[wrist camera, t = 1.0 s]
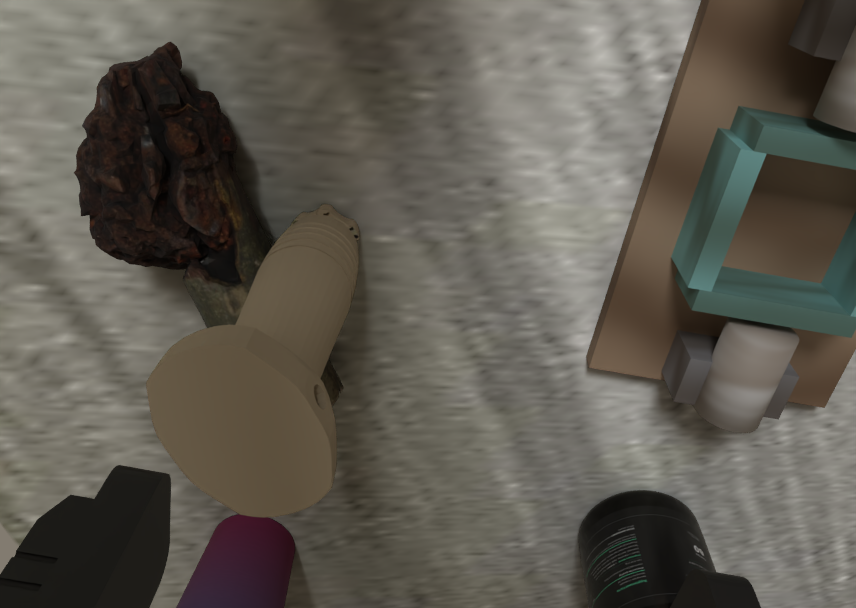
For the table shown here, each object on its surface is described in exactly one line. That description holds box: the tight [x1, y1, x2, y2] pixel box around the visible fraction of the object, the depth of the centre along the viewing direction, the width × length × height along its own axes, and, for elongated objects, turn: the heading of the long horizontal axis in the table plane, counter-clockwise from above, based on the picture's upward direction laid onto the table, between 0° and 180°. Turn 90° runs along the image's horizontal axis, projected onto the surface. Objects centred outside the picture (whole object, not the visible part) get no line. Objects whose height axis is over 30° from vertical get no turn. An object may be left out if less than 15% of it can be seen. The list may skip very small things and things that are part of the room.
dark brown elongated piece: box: [74, 42, 343, 406], centre depth 33 cm, size 18×7×6 cm, turn 17°
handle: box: [146, 204, 360, 518], centre depth 28 cm, size 5×6×15 cm
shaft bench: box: [586, 0, 856, 433], centre depth 31 cm, size 19×12×5 cm, turn 170°
